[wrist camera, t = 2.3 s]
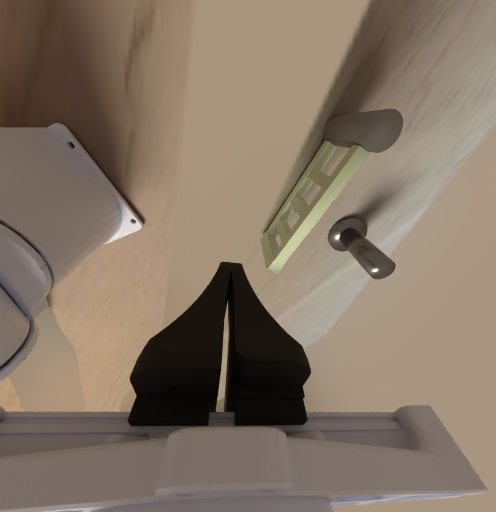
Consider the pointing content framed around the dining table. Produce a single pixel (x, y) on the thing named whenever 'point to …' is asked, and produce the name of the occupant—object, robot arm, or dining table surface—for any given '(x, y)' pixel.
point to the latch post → (360, 247)
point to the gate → (340, 134)
